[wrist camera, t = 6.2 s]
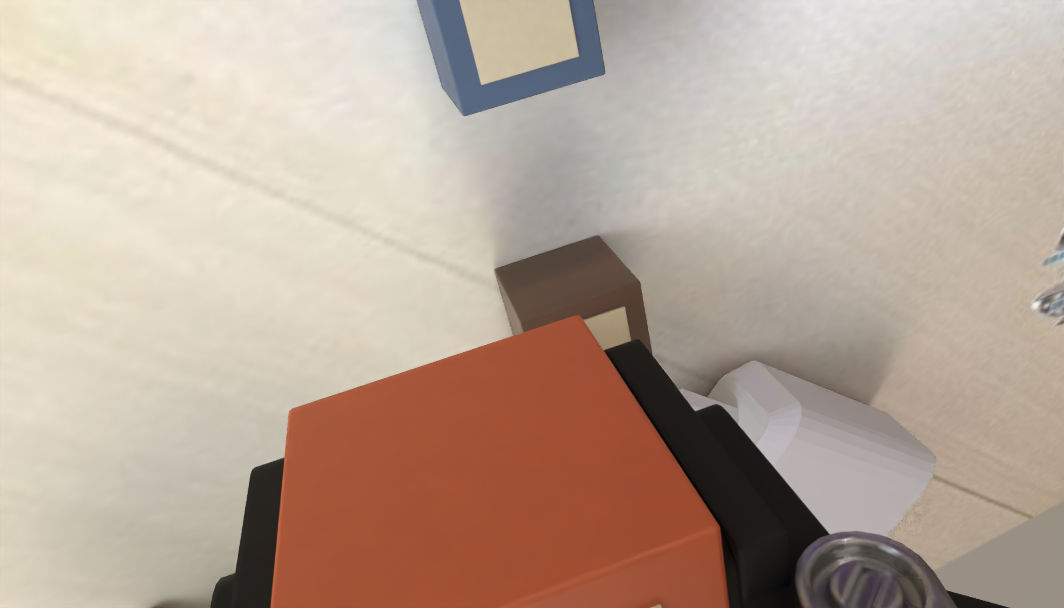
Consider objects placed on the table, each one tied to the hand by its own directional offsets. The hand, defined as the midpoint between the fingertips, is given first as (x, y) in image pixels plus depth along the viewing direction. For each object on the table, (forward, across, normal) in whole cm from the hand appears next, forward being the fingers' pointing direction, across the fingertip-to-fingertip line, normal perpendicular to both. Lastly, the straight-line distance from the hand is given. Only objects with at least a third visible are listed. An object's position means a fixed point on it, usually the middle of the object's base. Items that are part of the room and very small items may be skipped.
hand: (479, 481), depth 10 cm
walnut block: (+16, -4, +6) cm, 17 cm away
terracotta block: (0, 0, 0) cm, 0 cm away
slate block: (+15, -4, -4) cm, 17 cm away
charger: (+16, -10, +16) cm, 25 cm away
